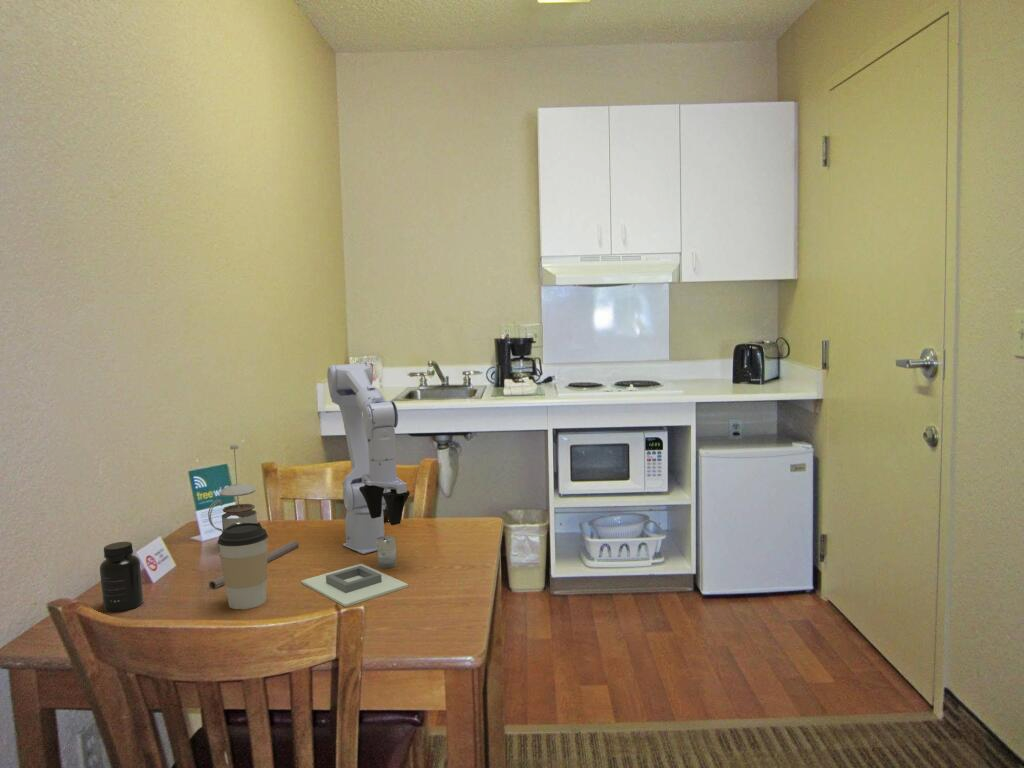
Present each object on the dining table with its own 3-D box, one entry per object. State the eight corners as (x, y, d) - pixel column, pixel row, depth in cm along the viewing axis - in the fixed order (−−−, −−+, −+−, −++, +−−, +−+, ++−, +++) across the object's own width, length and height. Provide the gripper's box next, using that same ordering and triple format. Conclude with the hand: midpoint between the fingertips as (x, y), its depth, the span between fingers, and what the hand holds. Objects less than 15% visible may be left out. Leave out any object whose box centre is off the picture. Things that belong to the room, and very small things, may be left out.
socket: (301, 582, 152) (300, 573, 152) (361, 565, 161) (360, 556, 161) (345, 607, 139) (344, 596, 138) (408, 586, 148) (407, 576, 148)
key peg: (374, 565, 161) (372, 538, 161) (390, 561, 164) (388, 534, 163) (384, 570, 158) (382, 542, 158) (400, 565, 161) (398, 538, 160)
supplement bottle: (113, 600, 146) (107, 540, 145) (149, 597, 147) (144, 538, 145) (96, 614, 139) (91, 551, 138) (134, 611, 140) (129, 549, 139)
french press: (268, 548, 176) (261, 443, 173) (216, 558, 169) (208, 450, 167) (256, 538, 184) (249, 438, 181) (206, 548, 177) (199, 444, 175)
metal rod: (298, 549, 176) (298, 540, 176) (216, 590, 150) (216, 581, 150) (291, 548, 176) (291, 540, 176) (209, 589, 151) (208, 580, 151)
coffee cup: (223, 615, 137) (217, 535, 135) (221, 598, 145) (215, 523, 144) (274, 606, 140) (269, 528, 139) (269, 590, 149) (264, 516, 147)
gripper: (348, 457, 161) (351, 518, 163) (385, 466, 151) (388, 531, 152) (376, 452, 166) (379, 511, 167) (413, 460, 155) (416, 524, 157)
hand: (385, 520), depth 160 cm, fingers open, 7 cm apart
